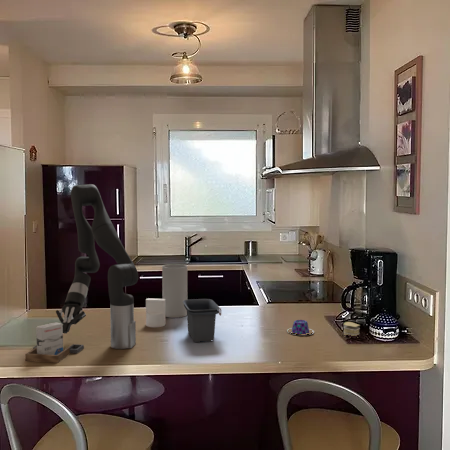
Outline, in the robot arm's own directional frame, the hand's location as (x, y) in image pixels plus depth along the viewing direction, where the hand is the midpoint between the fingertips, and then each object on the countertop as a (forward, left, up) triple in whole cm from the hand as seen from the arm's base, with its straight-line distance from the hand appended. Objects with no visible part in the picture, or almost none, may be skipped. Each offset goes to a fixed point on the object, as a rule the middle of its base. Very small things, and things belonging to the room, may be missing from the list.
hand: (64, 332), depth 194 cm
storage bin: (-53, -20, -6) cm, 57 cm away
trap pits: (0, +5, -5) cm, 8 cm away
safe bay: (0, +13, -5) cm, 14 cm away
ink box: (0, +12, -6) cm, 13 cm away
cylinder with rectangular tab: (-28, -35, -6) cm, 45 cm away
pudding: (-95, -33, -6) cm, 101 cm away
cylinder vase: (-33, -53, -6) cm, 63 cm away
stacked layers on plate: (-117, -30, -6) cm, 121 cm away
